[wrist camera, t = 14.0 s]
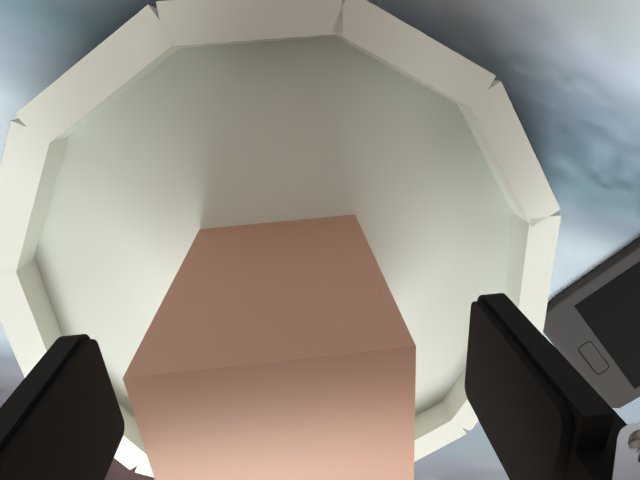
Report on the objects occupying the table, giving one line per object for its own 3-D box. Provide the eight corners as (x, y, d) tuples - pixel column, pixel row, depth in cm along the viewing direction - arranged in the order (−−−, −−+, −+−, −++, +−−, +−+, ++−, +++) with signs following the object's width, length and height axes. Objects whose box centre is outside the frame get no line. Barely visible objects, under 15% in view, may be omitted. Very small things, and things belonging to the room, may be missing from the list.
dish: (549, -21, 13) (608, -40, 11) (497, 422, 20) (525, 471, 18) (-58, 22, 12) (-140, 11, 10) (107, 467, 19) (81, 525, 17)
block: (355, 214, 14) (416, 345, 7) (360, 342, 16) (412, 535, 9) (199, 229, 14) (122, 377, 7) (224, 357, 16) (181, 564, 9)
